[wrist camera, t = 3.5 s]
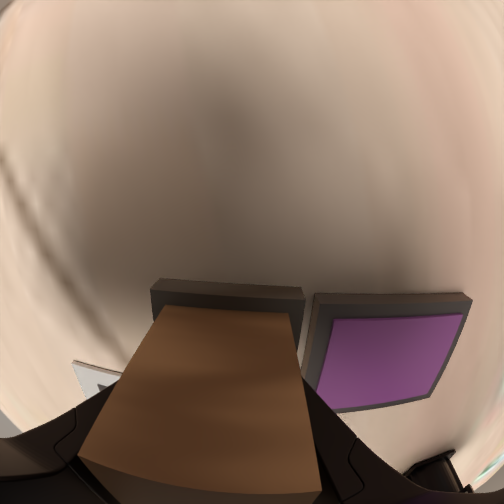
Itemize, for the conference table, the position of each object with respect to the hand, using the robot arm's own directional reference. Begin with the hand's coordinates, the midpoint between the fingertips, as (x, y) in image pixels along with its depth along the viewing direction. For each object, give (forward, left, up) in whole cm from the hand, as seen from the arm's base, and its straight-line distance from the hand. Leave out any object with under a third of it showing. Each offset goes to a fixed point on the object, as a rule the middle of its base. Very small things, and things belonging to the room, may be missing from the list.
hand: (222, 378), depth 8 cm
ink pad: (-8, +2, -4) cm, 9 cm away
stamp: (0, 0, -2) cm, 2 cm away
